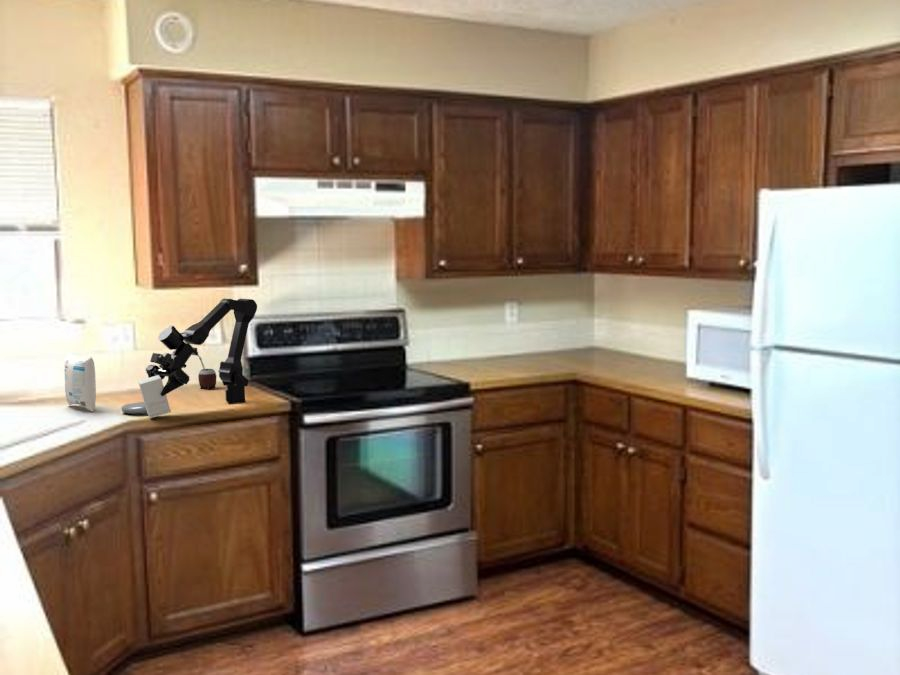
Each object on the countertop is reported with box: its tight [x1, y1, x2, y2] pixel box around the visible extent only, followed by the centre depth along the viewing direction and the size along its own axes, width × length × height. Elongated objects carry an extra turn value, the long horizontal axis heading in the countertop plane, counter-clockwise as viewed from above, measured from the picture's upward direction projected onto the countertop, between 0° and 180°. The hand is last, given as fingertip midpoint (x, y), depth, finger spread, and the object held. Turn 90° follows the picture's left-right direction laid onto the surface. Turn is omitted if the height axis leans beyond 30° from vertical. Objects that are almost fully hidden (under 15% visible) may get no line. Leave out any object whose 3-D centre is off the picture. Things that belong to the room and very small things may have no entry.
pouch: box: [64, 352, 97, 413], centre depth 326 cm, size 8×19×20 cm, turn 44°
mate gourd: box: [197, 354, 217, 391], centre depth 364 cm, size 8×8×15 cm
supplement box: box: [138, 375, 171, 419], centre depth 308 cm, size 7×7×13 cm
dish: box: [121, 401, 148, 415], centre depth 320 cm, size 15×15×2 cm
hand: (153, 393), depth 307 cm, fingers closed on supplement box, 9 cm apart
